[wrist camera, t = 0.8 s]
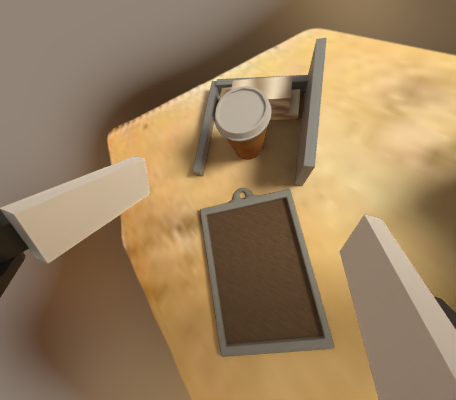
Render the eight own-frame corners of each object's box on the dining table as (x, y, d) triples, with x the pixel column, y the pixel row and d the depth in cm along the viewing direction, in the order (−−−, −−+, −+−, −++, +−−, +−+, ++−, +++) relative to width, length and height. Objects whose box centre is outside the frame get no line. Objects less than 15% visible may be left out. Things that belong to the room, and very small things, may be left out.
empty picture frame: (221, 357, 32) (198, 197, 39) (223, 352, 33) (200, 199, 40) (335, 349, 28) (286, 175, 36) (332, 343, 30) (286, 178, 37)
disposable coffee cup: (276, 131, 39) (279, 86, 28) (263, 170, 38) (260, 141, 27) (236, 123, 42) (223, 80, 30) (222, 160, 41) (204, 130, 29)
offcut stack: (298, 96, 40) (303, 72, 34) (297, 120, 39) (301, 99, 33) (222, 100, 44) (215, 80, 39) (218, 121, 43) (211, 104, 38)
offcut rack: (312, 86, 39) (326, 37, 30) (302, 185, 36) (314, 166, 26) (214, 89, 45) (200, 50, 36) (197, 175, 41) (175, 156, 32)
